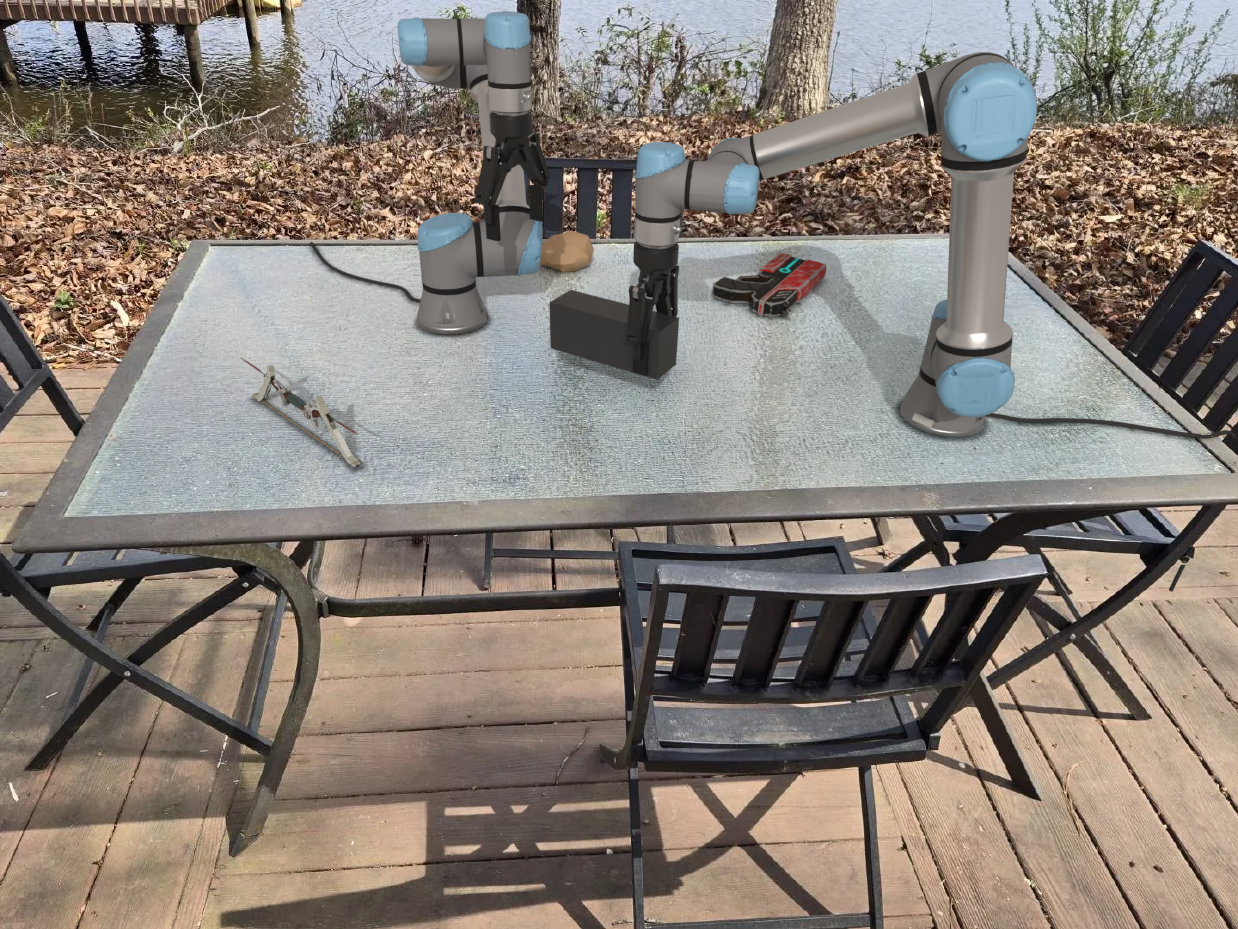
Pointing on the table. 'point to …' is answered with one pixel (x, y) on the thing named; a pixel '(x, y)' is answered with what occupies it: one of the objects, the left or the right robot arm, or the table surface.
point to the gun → (772, 285)
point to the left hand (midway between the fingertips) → (515, 229)
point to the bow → (305, 411)
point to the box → (609, 333)
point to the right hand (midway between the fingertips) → (650, 365)
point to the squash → (567, 251)
